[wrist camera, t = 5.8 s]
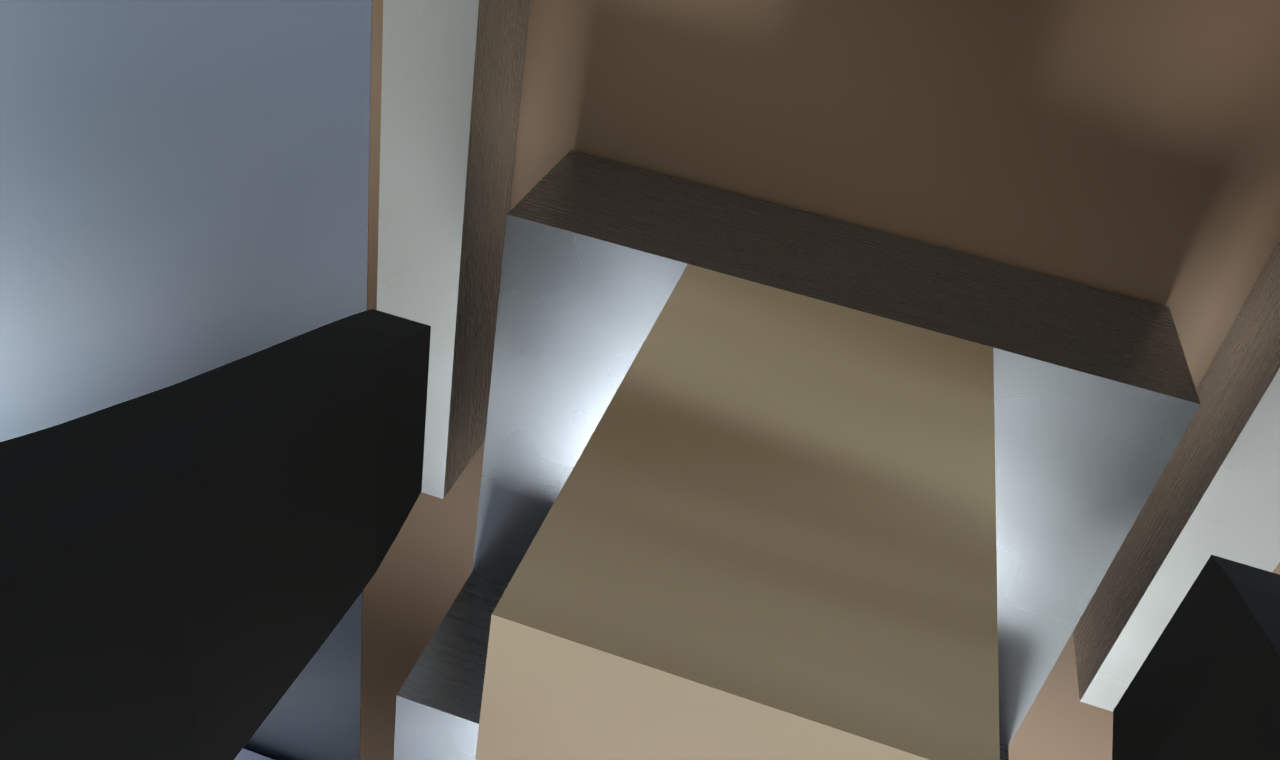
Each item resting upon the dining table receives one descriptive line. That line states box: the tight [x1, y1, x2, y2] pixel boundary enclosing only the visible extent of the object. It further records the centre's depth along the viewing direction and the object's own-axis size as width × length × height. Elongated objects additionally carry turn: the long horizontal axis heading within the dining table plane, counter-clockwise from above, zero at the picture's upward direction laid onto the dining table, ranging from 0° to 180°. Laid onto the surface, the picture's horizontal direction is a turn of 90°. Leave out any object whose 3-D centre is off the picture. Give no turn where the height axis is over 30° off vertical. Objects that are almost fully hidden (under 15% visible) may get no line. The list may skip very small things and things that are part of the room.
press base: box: [360, 0, 1280, 760], centre depth 13 cm, size 22×12×6 cm, turn 171°
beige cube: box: [394, 150, 1201, 760], centre depth 11 cm, size 7×7×7 cm
